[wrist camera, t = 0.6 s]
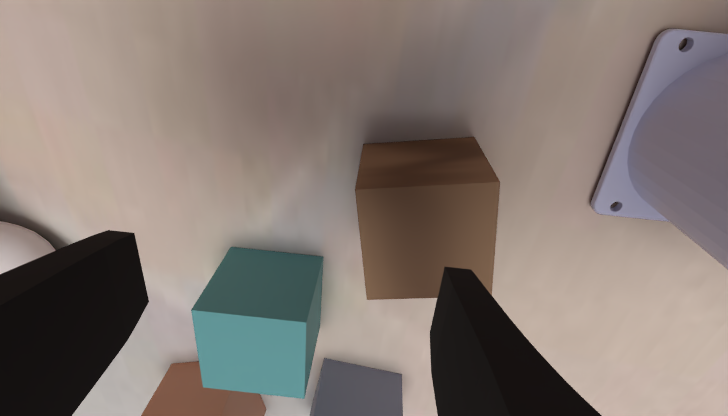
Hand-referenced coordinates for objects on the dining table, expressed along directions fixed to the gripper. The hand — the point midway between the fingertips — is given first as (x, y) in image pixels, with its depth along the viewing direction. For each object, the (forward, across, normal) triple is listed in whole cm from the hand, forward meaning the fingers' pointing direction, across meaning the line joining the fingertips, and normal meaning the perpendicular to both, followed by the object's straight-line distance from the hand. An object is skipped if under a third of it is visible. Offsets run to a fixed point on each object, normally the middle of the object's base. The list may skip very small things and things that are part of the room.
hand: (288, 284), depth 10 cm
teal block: (+10, +3, +9) cm, 14 cm away
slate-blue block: (+10, -2, +17) cm, 20 cm away
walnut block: (+10, -4, +2) cm, 11 cm away
